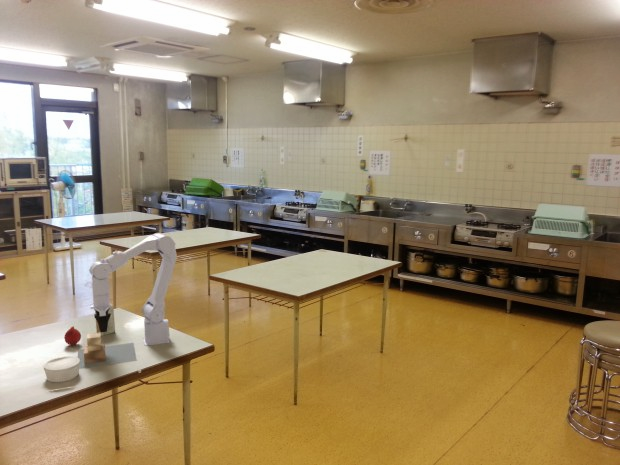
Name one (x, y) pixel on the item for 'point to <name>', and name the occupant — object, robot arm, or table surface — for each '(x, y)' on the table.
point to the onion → (72, 336)
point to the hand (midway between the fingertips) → (103, 328)
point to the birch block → (94, 342)
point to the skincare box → (110, 323)
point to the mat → (111, 355)
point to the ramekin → (62, 369)
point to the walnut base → (94, 355)
